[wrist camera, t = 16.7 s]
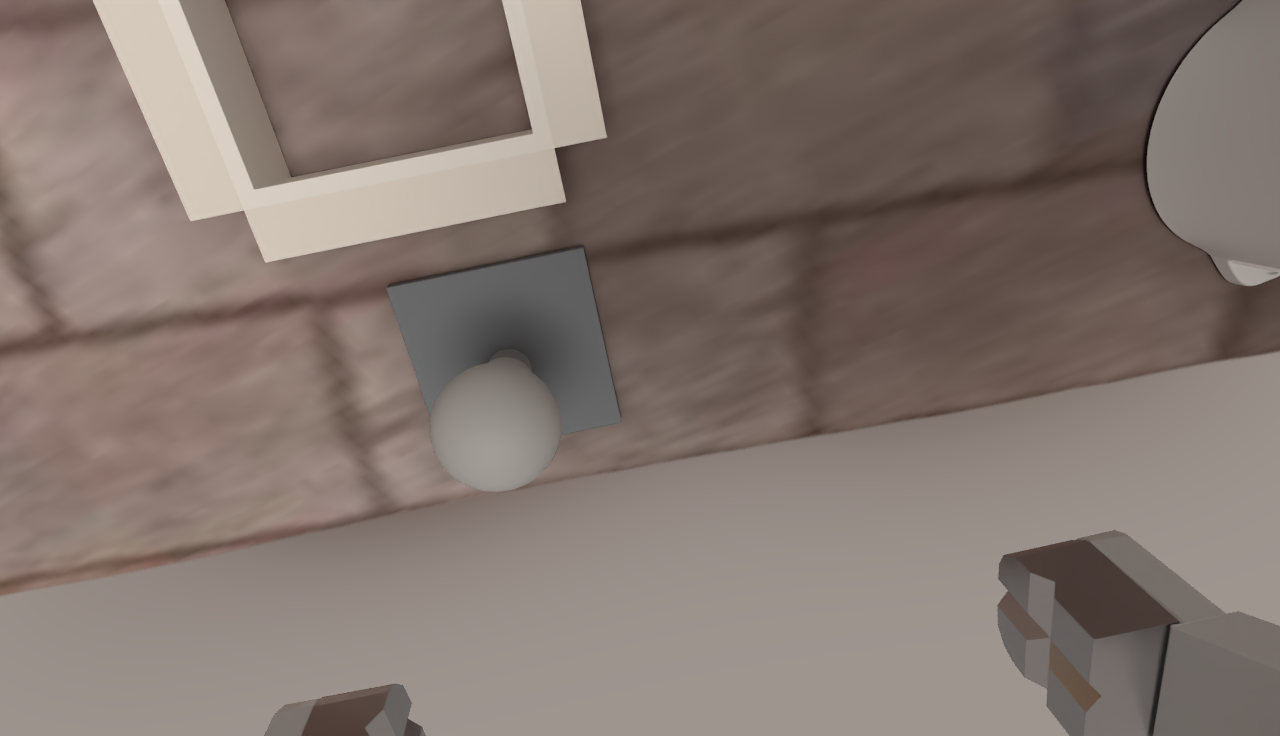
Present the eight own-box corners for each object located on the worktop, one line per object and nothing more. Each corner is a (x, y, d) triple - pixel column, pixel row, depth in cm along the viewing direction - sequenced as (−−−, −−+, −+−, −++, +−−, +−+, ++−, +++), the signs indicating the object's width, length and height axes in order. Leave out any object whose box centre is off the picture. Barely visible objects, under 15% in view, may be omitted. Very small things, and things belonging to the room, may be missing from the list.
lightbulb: (585, 369, 40) (589, 463, 30) (507, 430, 41) (487, 541, 31) (513, 292, 38) (492, 367, 28) (434, 358, 39) (386, 453, 29)
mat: (583, 245, 38) (583, 247, 38) (620, 417, 43) (621, 422, 42) (388, 285, 38) (386, 288, 38) (446, 454, 42) (444, 459, 42)
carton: (522, -283, 29) (514, -344, 25) (612, 179, 37) (617, 191, 33) (68, -196, 29) (-15, -243, 25) (253, 251, 37) (213, 273, 33)
